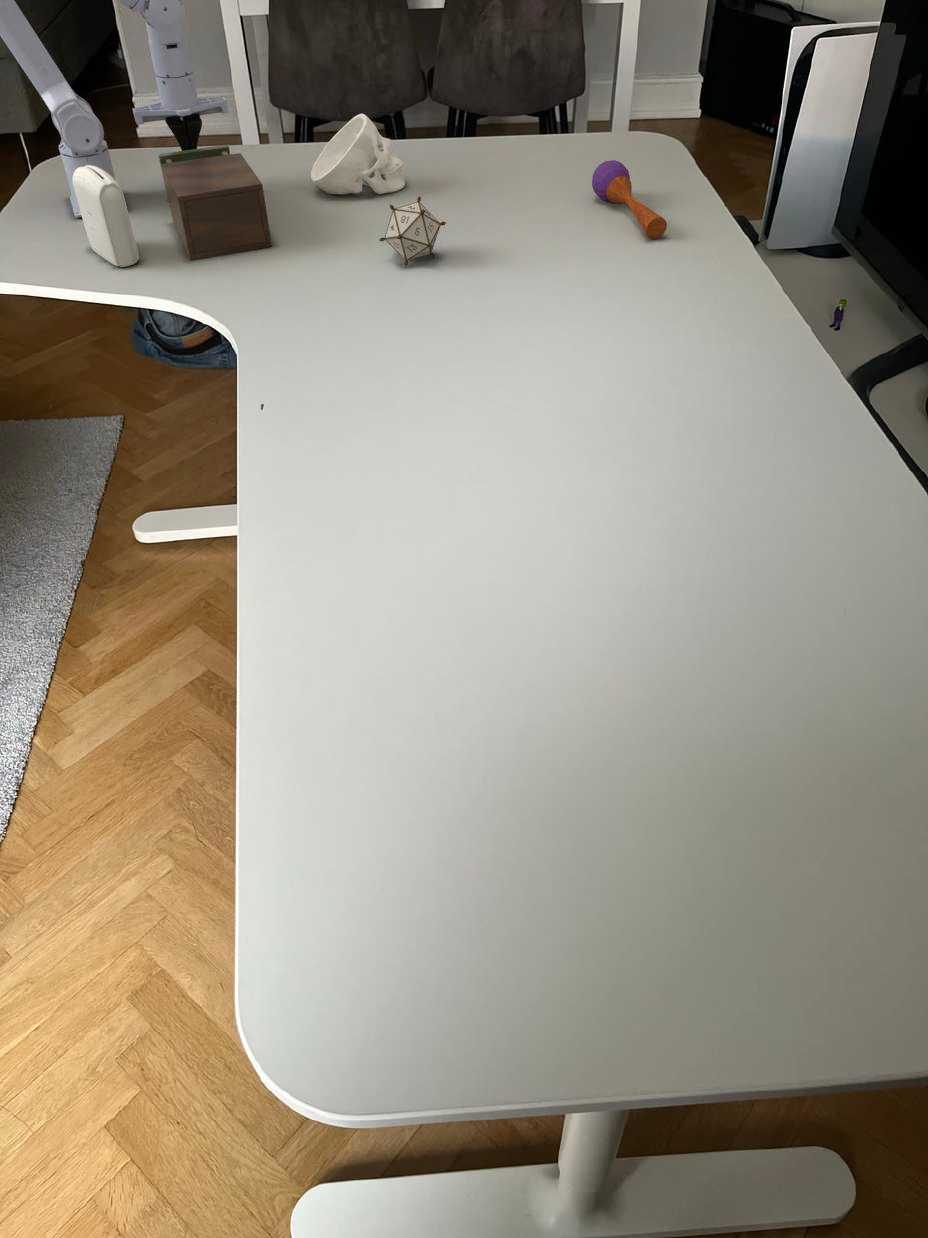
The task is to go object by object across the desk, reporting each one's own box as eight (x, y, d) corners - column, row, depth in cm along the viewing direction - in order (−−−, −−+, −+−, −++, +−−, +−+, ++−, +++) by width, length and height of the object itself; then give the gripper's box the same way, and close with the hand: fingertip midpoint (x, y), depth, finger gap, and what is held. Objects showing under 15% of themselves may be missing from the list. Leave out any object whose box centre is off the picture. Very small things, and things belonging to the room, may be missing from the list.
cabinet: (173, 224, 155) (160, 163, 148) (250, 212, 158) (240, 152, 152) (190, 260, 145) (177, 196, 138) (271, 246, 148) (262, 183, 142)
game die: (403, 286, 145) (357, 235, 139) (424, 245, 149) (379, 193, 143) (445, 269, 139) (399, 215, 133) (466, 227, 142) (422, 172, 137)
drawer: (163, 192, 163) (153, 145, 158) (229, 182, 165) (221, 136, 160) (182, 231, 150) (172, 181, 145) (253, 220, 153) (245, 171, 148)
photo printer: (87, 249, 148) (63, 162, 140) (114, 241, 150) (91, 155, 142) (116, 270, 142) (93, 181, 134) (144, 262, 144) (123, 174, 136)
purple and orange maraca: (636, 215, 144) (584, 160, 157) (638, 252, 148) (587, 196, 161) (674, 202, 144) (619, 149, 157) (675, 240, 149) (621, 185, 162)
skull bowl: (421, 185, 161) (376, 120, 153) (353, 238, 165) (306, 178, 157) (409, 163, 169) (366, 100, 161) (344, 215, 172) (299, 156, 164)
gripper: (129, 85, 149) (150, 179, 158) (225, 73, 153) (240, 166, 162) (123, 73, 154) (144, 165, 163) (216, 62, 158) (231, 152, 167)
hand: (191, 164), depth 163 cm, fingers closed
